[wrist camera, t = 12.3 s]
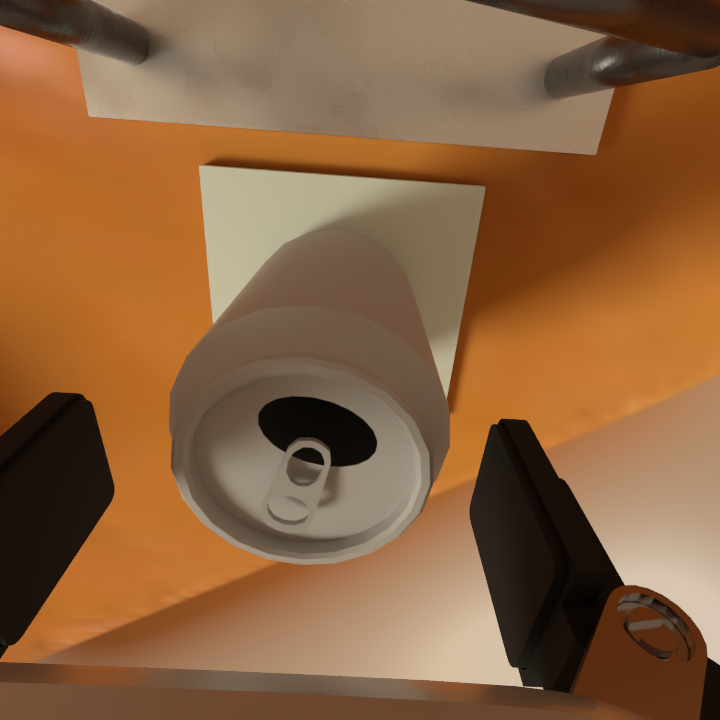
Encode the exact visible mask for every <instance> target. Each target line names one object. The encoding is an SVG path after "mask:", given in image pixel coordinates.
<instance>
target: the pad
mask: <svg viewBox="0 0 720 720" xmlns="http://www.w3.org/2000/svg"><path fill="white" fill-rule="evenodd" d="M199 172H200V184H201V195H202V206H203V217H204V228H205V240H206V251H207V262H208V273H209V284H210V296H211V307H212V318H213V324H214V323H215V322H216V321H217V319H218V318H219V317H220V316H221V315H222V313H223V312H224V311H225V310H226V309H227V307H228V306H229V305H230V304H231V302H232V301H233V300H234V299H235V298H236V296H237V295H238V294H239V293H240V292H241V290H242V289H243V288H244V287H245V286H246V284H247V283H248V282H249V281H250V280H251V278H252V277H253V276H254V275H255V273H256V272H257V271H258V270H259V269H260V267H261V266H262V265H263V264H264V263H265V261H266V260H267V259H269V258H270V257H271V256H272V255H273V254H274V253H275V252H276V251H277V250H278V249H279V248H280V247H281V246H282V245H283V244H284V243H286V242H288V241H291V240H293V239H295V238H297V237H299V236H302V235H304V234H306V233H308V232H316V231H327V230H341V231H345V232H350V233H354V234H358V235H363V236H365V237H367V238H368V239H370V240H372V241H373V242H375V243H377V244H378V245H380V246H382V247H383V248H385V249H386V250H388V251H389V253H390V254H391V255H392V256H393V257H394V258H395V260H396V261H397V262H398V263H399V264H400V265H401V267H402V268H403V269H404V270H405V273H406V275H407V278H408V280H409V283H410V285H411V288H412V290H413V293H414V296H415V299H416V302H417V305H418V309H419V312H420V315H421V318H422V322H423V325H424V328H425V331H426V335H427V338H428V341H429V344H430V348H431V351H432V354H433V357H434V361H435V364H436V367H437V370H438V374H439V377H440V380H441V383H442V387H443V390H444V393H445V396H446V400H447V395H448V390H449V384H450V379H451V373H452V368H453V363H454V357H455V352H456V346H457V341H458V336H459V330H460V325H461V319H462V314H463V309H464V303H465V298H466V292H467V287H468V282H469V276H470V271H471V265H472V260H473V255H474V249H475V244H476V238H477V233H478V227H479V222H480V217H481V211H482V206H483V200H484V195H485V190H486V187H485V186H482V185H468V184H455V183H442V182H429V181H415V180H402V179H389V178H375V177H362V176H349V175H335V174H322V173H309V172H295V171H282V170H269V169H256V168H242V167H229V166H216V165H199Z"/></svg>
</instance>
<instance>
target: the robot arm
mask: <svg viewBox="0 0 720 720" xmlns="http://www.w3.org/2000/svg"><path fill="white" fill-rule="evenodd" d="M114 489H115V488H114V483H113V479H112V475H111V472H110V468H109V464H108V460H107V457H106V453H105V449H104V445H103V442H102V438H101V434H100V431H99V427H98V423H97V419H96V416H95V412H94V408H93V405H92V403H91V402H90V401H88V400H86V399H85V397H84V396H83V395H82V394H77V393H60V392H54V393H51V394H49V395H48V396H46V397H45V398H44V399H43V400H42V401H41V402H40V403H38V404H37V405H36V406H35V407H34V408H33V409H32V410H30V411H29V412H28V413H27V414H26V415H25V416H23V417H22V418H21V419H20V420H19V421H18V422H17V423H15V424H14V425H13V426H12V427H11V428H10V429H9V430H7V431H6V432H5V433H4V434H3V435H2V436H0V658H1V657H2V655H3V654H4V652H5V651H6V649H7V648H8V646H9V645H13V644H15V643H16V642H18V641H19V640H20V638H21V637H22V636H23V634H24V633H25V631H26V630H27V628H28V627H29V625H30V624H31V622H32V621H33V619H34V618H35V616H36V615H37V613H38V612H39V610H40V609H41V607H42V606H43V604H44V603H45V601H46V600H47V598H48V597H49V595H50V593H51V592H52V590H53V589H54V587H55V586H56V584H57V583H58V581H59V580H60V578H61V577H62V575H63V574H64V572H65V571H66V569H67V568H68V566H69V565H70V563H71V562H72V560H73V559H74V557H75V556H76V554H77V553H78V551H79V550H80V548H81V547H82V545H83V544H84V542H85V541H86V539H87V538H88V536H89V535H90V533H91V532H92V530H93V529H94V527H95V525H96V524H97V522H98V521H99V519H100V518H101V516H102V515H103V513H104V512H105V510H106V509H107V507H108V506H109V504H110V503H111V501H112V499H113V496H114ZM470 520H471V525H472V528H473V532H474V535H475V539H476V543H477V547H478V551H479V554H480V558H481V562H482V565H483V569H484V573H485V576H486V580H487V584H488V588H489V591H490V595H491V599H492V602H493V606H494V610H495V613H496V617H497V621H498V624H499V629H500V632H501V636H502V640H503V643H504V647H505V651H506V654H507V658H508V661H509V663H510V665H511V666H512V667H517V668H518V669H519V673H520V676H521V680H522V683H523V686H527V687H543V689H544V690H542V689H533V688H525V687H517V686H502V685H487V684H473V683H458V682H444V681H429V680H428V681H427V680H407V679H387V678H366V677H346V676H345V677H344V676H324V675H303V674H282V673H259V672H258V673H257V672H236V671H213V670H189V669H165V668H141V667H116V666H114V667H113V666H89V665H62V664H61V665H60V664H35V663H9V662H0V720H720V665H719V664H717V663H716V662H714V661H713V660H711V659H710V658H708V657H707V647H706V643H705V641H704V639H703V636H702V634H701V632H700V630H699V629H698V627H697V626H696V625H695V623H694V622H693V621H692V619H691V618H690V617H689V616H688V615H687V614H686V613H685V612H684V611H683V610H682V609H681V608H680V607H679V606H678V605H676V604H675V603H673V602H672V601H670V600H669V599H668V598H666V597H665V596H663V595H661V594H659V593H657V592H654V591H653V590H650V589H648V588H644V587H639V586H636V585H626V586H625V585H624V583H623V582H622V580H621V578H620V576H619V574H618V573H617V571H616V569H615V567H614V566H613V564H612V562H611V560H610V558H609V557H608V555H607V553H606V551H605V550H604V548H603V546H602V544H601V542H600V541H599V539H598V537H597V535H596V534H595V532H594V530H593V528H592V526H591V525H590V523H589V521H588V520H587V518H586V516H585V514H584V512H583V511H582V509H581V507H580V505H579V503H578V502H577V500H576V498H575V497H574V495H573V493H572V491H571V489H570V488H569V486H568V485H567V483H566V482H565V481H564V480H563V479H561V478H558V476H557V474H556V472H555V470H554V468H553V467H552V465H551V463H550V461H549V459H548V457H547V456H546V454H545V452H544V450H543V448H542V447H541V445H540V443H539V441H538V439H537V437H536V436H535V434H534V432H533V430H532V428H531V427H530V425H529V423H528V422H527V421H526V420H516V419H500V421H499V422H498V425H497V424H493V425H492V426H491V428H490V431H489V435H488V438H487V442H486V446H485V450H484V454H483V458H482V461H481V465H480V469H479V473H478V477H477V481H476V485H475V489H474V493H473V496H472V500H471V504H470Z"/></svg>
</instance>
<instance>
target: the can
mask: <svg viewBox="0 0 720 720" xmlns="http://www.w3.org/2000/svg"><path fill="white" fill-rule="evenodd" d="M169 432H170V435H171V437H172V452H171V468H172V471H173V474H174V477H175V479H176V482H177V485H178V488H179V490H180V493H181V496H182V498H183V499H184V501H185V502H186V503H187V504H188V506H189V507H190V508H191V509H192V511H193V512H194V513H195V514H196V516H197V517H198V518H199V519H200V520H201V522H202V523H203V524H204V525H205V526H206V527H208V528H209V529H211V530H212V531H213V532H215V533H216V534H218V535H219V536H220V537H222V538H223V539H225V540H226V541H228V542H229V543H230V544H232V545H233V546H235V547H238V548H240V549H243V550H245V551H248V552H250V553H253V554H255V555H258V556H260V557H263V558H265V559H269V560H276V561H282V562H288V563H294V564H300V565H308V564H326V563H339V562H342V561H345V560H349V559H353V558H356V557H359V556H363V555H366V554H370V553H372V552H374V551H376V550H377V549H379V548H381V547H382V546H384V545H386V544H387V543H389V542H391V541H392V540H394V539H396V538H397V537H399V536H401V535H402V534H403V533H404V531H405V530H406V529H407V528H408V527H409V526H410V525H411V524H412V522H413V521H414V520H415V519H416V518H417V517H418V516H419V514H421V512H422V511H423V508H424V506H425V503H426V501H427V498H428V496H429V493H430V491H431V488H432V486H433V483H434V482H435V481H436V479H437V477H438V475H439V472H440V470H441V467H442V465H443V462H444V459H445V457H446V454H447V452H448V449H449V447H450V409H449V406H448V403H447V400H446V396H445V393H444V390H443V387H442V383H441V380H440V377H439V374H438V370H437V367H436V364H435V361H434V357H433V354H432V351H431V348H430V344H429V341H428V338H427V335H426V331H425V328H424V325H423V322H422V318H421V315H420V312H419V309H418V305H417V302H416V299H415V296H414V293H413V290H412V288H411V285H410V283H409V280H408V278H407V275H406V273H405V270H404V269H403V268H402V267H401V265H400V264H399V263H398V262H397V261H396V260H395V258H394V257H393V256H392V255H391V254H390V253H389V251H388V250H386V249H385V248H383V247H382V246H380V245H378V244H377V243H375V242H373V241H372V240H370V239H368V238H367V237H365V236H363V235H358V234H354V233H350V232H345V231H341V230H327V231H316V232H308V233H306V234H304V235H302V236H299V237H297V238H295V239H293V240H291V241H288V242H286V243H284V244H283V245H282V246H281V247H280V248H279V249H278V250H277V251H276V252H275V253H274V254H273V255H272V256H271V257H270V258H269V259H267V260H266V261H265V263H264V264H263V265H262V266H261V267H260V269H259V270H258V271H257V272H256V273H255V275H254V276H253V277H252V278H251V280H250V281H249V282H248V283H247V284H246V286H245V287H244V288H243V289H242V290H241V292H240V293H239V294H238V295H237V296H236V298H235V299H234V300H233V301H232V302H231V304H230V305H229V306H228V307H227V309H226V310H225V311H224V312H223V313H222V315H221V316H220V317H219V318H218V319H217V321H216V322H215V323H214V324H213V325H212V327H211V328H210V329H209V330H208V332H207V333H206V334H205V335H204V336H203V338H202V339H201V340H200V341H199V342H198V344H197V345H196V346H195V347H194V348H193V350H192V351H191V352H190V353H189V354H188V356H187V357H186V359H185V361H184V363H183V365H182V368H181V370H180V372H179V374H178V376H177V378H176V381H175V383H174V385H173V387H172V389H171V392H170V408H169Z"/></svg>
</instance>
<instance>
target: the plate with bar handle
mask: <svg viewBox="0 0 720 720" xmlns="http://www.w3.org/2000/svg"><path fill="white" fill-rule="evenodd" d="M0 25H1V26H4V27H7V28H10V29H14V30H17V31H20V32H24V33H27V34H30V35H33V36H37V37H40V38H43V39H47V40H50V41H53V42H56V43H60V44H63V45H66V46H69V47H73V48H76V50H77V55H78V61H79V66H80V72H81V77H82V82H83V88H84V93H85V99H86V104H87V110H88V115H89V116H91V117H104V118H117V119H130V120H143V121H156V122H169V123H182V124H195V125H208V126H221V127H234V128H247V129H261V130H274V131H287V132H300V133H313V134H326V135H339V136H352V137H365V138H378V139H391V140H404V141H417V142H430V143H443V144H457V145H470V146H483V147H496V148H509V149H522V150H535V151H548V152H561V153H574V154H587V155H596V153H597V149H598V146H599V142H600V139H601V135H602V132H603V128H604V125H605V121H606V117H607V114H608V110H609V107H610V103H611V100H612V96H613V93H614V89H615V88H617V87H622V86H627V85H632V84H637V83H642V82H647V81H652V80H657V79H662V78H667V77H672V76H677V75H682V74H687V73H692V72H697V71H702V70H707V69H711V68H715V67H717V66H719V65H720V0H0Z"/></svg>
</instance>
